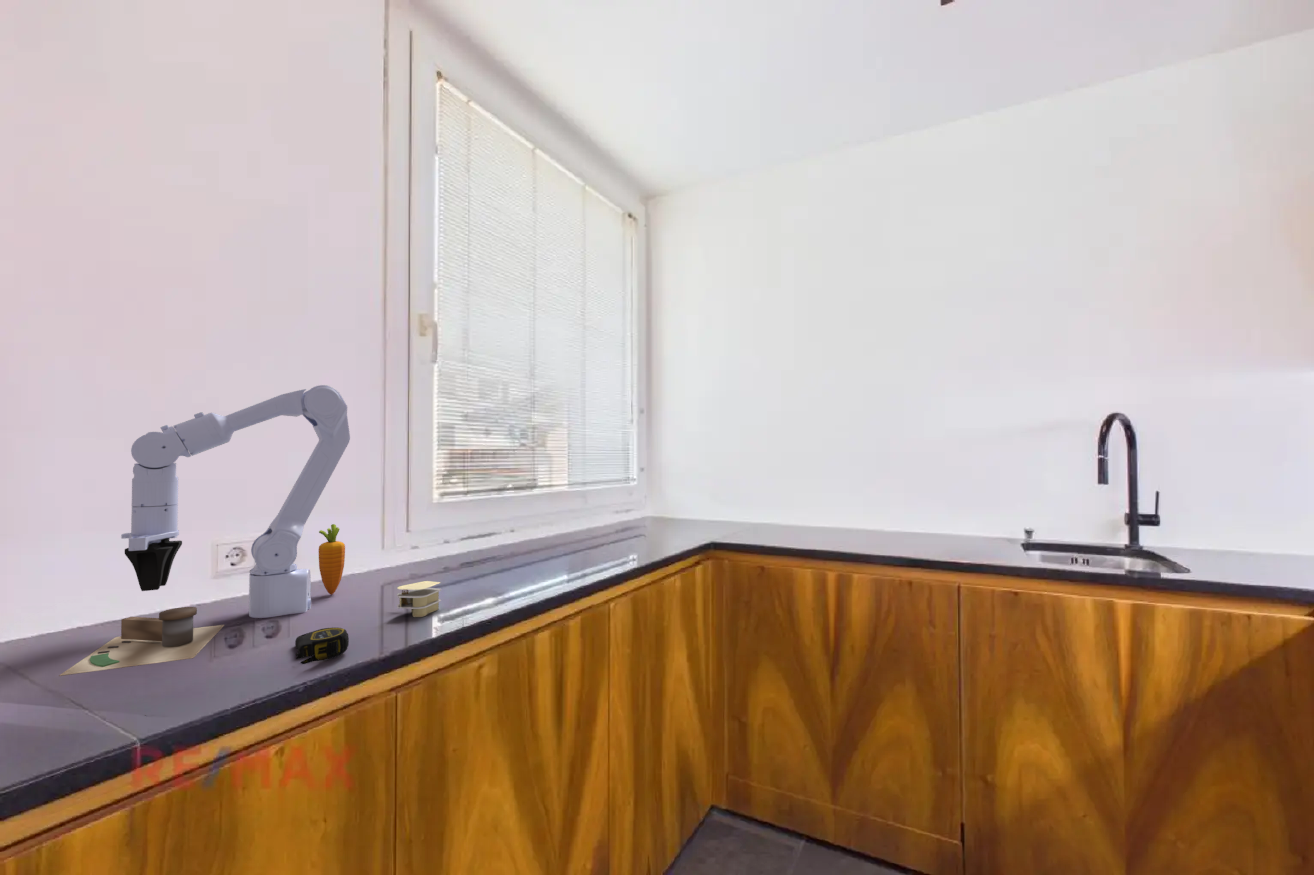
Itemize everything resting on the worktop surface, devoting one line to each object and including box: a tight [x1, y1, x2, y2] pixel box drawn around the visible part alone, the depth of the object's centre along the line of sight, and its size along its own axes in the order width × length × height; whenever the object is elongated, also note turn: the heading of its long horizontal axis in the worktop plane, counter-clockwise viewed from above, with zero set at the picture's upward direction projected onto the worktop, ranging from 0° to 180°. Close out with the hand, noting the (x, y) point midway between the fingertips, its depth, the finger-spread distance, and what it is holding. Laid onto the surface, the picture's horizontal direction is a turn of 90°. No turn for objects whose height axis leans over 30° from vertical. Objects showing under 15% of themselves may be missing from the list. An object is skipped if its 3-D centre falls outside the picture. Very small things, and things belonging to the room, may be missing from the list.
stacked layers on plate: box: [396, 580, 442, 618], centre depth 106 cm, size 10×9×6 cm
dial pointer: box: [120, 606, 198, 647], centre depth 86 cm, size 12×4×5 cm, turn 81°
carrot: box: [318, 523, 346, 596], centre depth 120 cm, size 5×5×15 cm
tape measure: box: [294, 627, 350, 665], centre depth 83 cm, size 7×7×4 cm
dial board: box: [58, 624, 225, 677], centre depth 84 cm, size 14×17×2 cm
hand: (153, 588), depth 92 cm, fingers open, 2 cm apart
